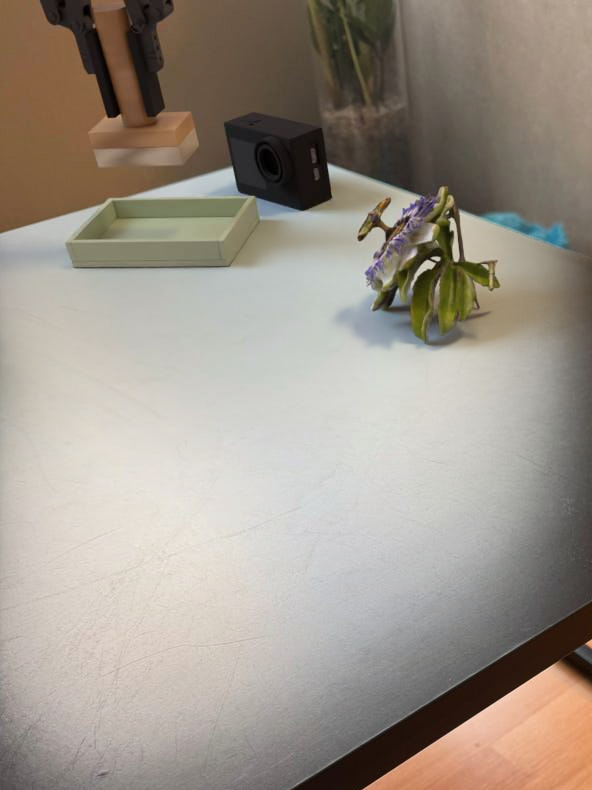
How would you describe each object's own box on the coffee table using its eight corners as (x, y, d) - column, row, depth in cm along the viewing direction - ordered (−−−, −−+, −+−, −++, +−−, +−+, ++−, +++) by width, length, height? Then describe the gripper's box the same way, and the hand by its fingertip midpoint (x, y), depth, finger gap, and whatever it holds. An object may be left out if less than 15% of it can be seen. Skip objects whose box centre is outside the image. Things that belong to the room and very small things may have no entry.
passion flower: (395, 367, 89) (361, 229, 87) (515, 336, 87) (483, 195, 86) (372, 351, 78) (332, 192, 76) (510, 315, 76) (472, 152, 75)
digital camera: (227, 195, 107) (212, 124, 102) (266, 180, 110) (253, 110, 105) (293, 215, 102) (281, 141, 97) (332, 198, 105) (321, 126, 100)
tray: (72, 267, 95) (64, 242, 93) (115, 221, 103) (108, 197, 101) (229, 266, 93) (223, 240, 92) (260, 220, 101) (255, 195, 100)
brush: (98, 167, 92) (52, 16, 83) (117, 148, 95) (74, 1, 87) (183, 165, 91) (145, 12, 82) (199, 145, 94) (164, -3, 86)
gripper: (166, -244, 76) (235, 97, 92) (-33, -230, 78) (68, 102, 94) (132, -238, 71) (211, 123, 87) (-82, -224, 72) (34, 128, 88)
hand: (136, 112), depth 90 cm, fingers closed on brush, 3 cm apart
